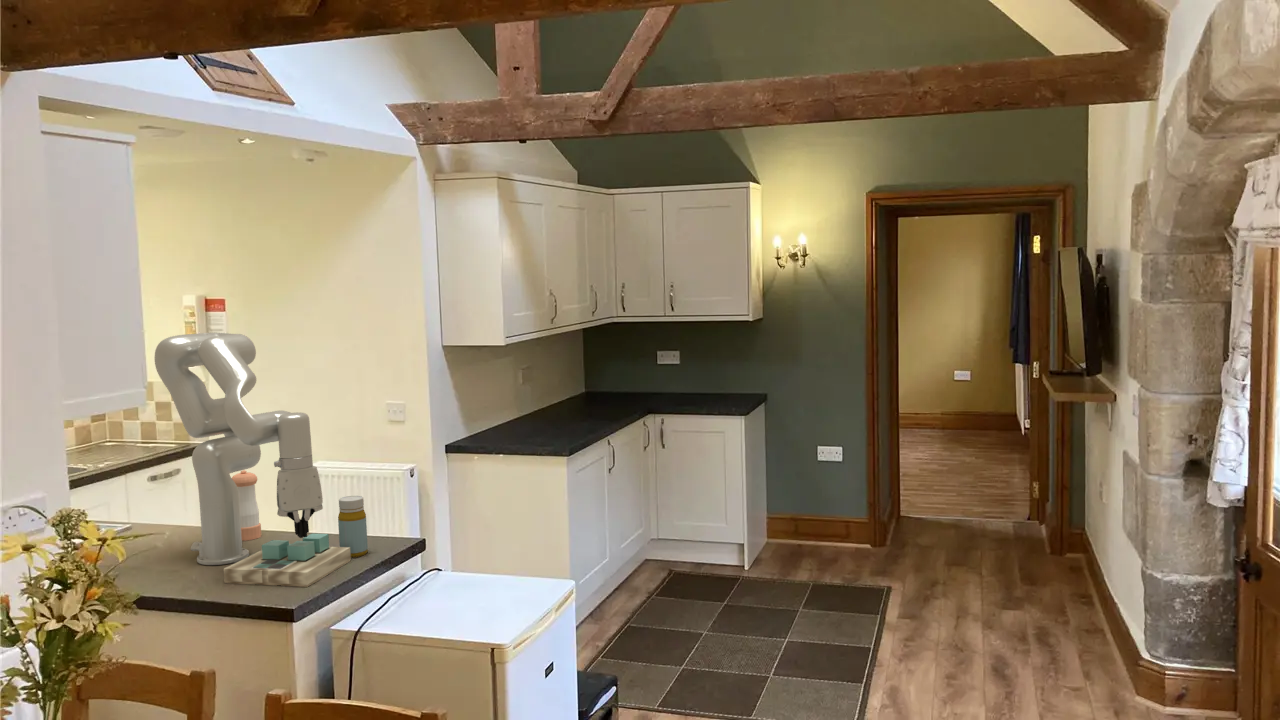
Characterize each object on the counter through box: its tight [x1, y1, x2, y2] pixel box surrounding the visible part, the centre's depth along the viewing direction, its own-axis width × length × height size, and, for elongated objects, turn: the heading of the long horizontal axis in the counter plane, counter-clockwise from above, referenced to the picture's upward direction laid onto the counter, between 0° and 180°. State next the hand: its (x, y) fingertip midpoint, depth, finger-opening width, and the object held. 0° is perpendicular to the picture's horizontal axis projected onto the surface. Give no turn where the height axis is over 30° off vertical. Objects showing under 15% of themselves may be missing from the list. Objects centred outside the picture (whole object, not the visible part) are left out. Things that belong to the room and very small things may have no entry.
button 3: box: [287, 540, 315, 561], centre depth 247 cm, size 5×5×4 cm
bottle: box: [337, 495, 369, 559], centre depth 261 cm, size 7×7×15 cm
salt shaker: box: [231, 469, 262, 542], centre depth 281 cm, size 7×7×19 cm
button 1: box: [261, 539, 290, 560], centre depth 249 cm, size 5×5×4 cm
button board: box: [223, 546, 352, 588], centre depth 248 cm, size 22×21×4 cm
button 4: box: [302, 533, 330, 552], centre depth 254 cm, size 5×5×4 cm
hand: (302, 536), depth 247 cm, fingers closed
